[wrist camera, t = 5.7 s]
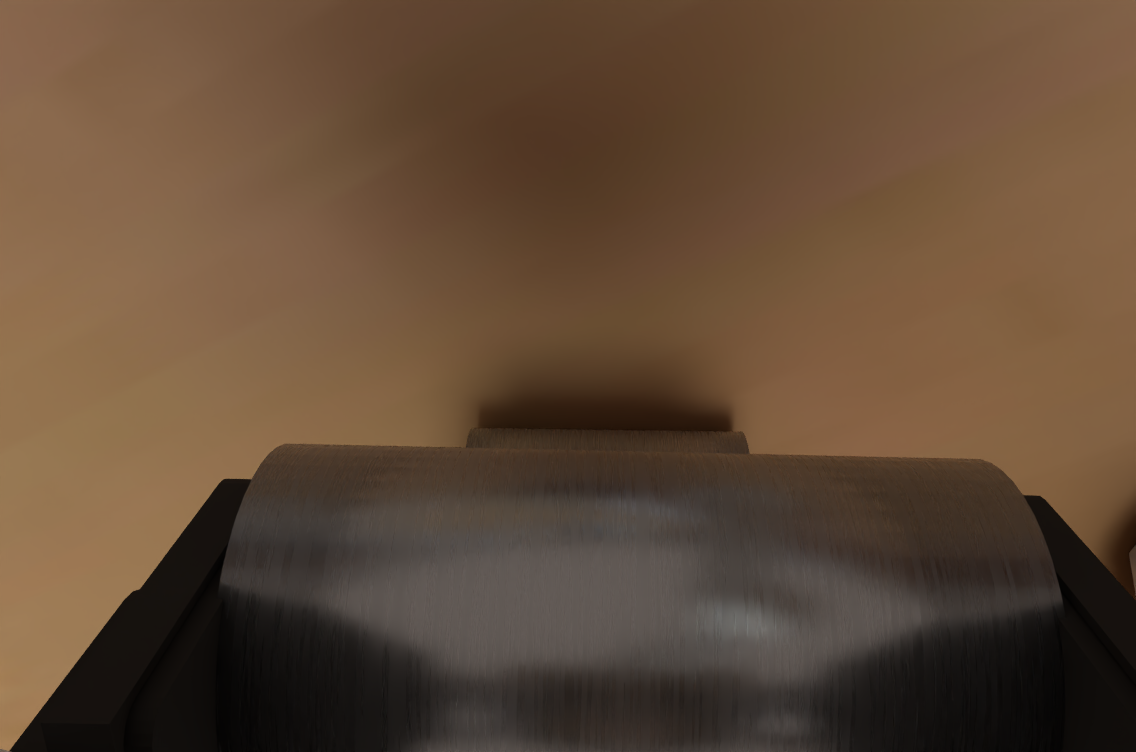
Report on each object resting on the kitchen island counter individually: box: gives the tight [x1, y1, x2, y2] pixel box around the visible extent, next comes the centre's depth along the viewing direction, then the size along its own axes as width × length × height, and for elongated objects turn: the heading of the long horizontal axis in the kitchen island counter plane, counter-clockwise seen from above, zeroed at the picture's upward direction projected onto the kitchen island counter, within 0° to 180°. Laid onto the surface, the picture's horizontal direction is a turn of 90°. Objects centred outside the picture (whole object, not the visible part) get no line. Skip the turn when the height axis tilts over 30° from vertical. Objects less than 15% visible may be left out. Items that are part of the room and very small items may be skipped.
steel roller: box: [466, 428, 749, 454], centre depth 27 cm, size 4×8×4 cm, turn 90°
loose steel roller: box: [215, 444, 1066, 752], centre depth 10 cm, size 4×8×4 cm, turn 89°
